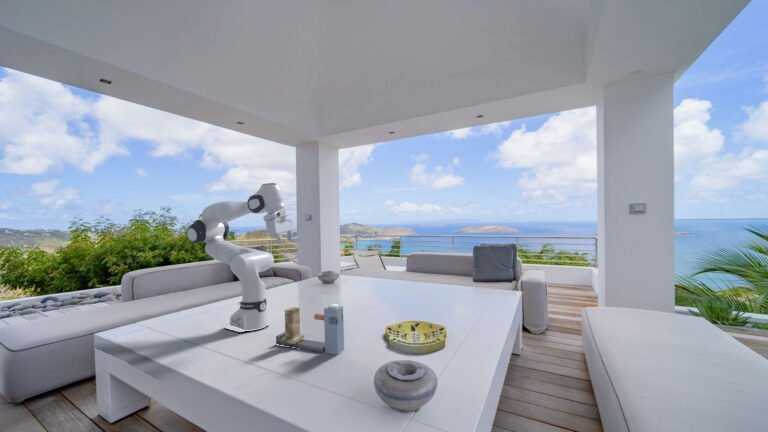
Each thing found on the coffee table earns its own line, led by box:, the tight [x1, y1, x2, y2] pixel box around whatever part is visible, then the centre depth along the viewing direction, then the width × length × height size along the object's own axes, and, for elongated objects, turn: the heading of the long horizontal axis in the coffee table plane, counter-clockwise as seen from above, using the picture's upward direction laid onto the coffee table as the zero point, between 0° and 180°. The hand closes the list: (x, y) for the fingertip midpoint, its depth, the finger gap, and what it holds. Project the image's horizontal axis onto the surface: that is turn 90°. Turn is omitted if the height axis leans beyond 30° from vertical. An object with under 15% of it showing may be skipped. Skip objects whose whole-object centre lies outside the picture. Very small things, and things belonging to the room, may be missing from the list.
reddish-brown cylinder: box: [313, 313, 324, 321], centre depth 123 cm, size 6×2×2 cm, turn 68°
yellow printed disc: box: [385, 320, 447, 354], centre depth 131 cm, size 28×3×30 cm
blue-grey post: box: [323, 303, 345, 356], centre depth 120 cm, size 6×5×19 cm
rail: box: [275, 331, 325, 354], centre depth 126 cm, size 24×5×4 cm, turn 69°
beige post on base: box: [281, 306, 305, 344], centre depth 128 cm, size 7×7×14 cm
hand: (286, 241), depth 144 cm, fingers open, 8 cm apart
